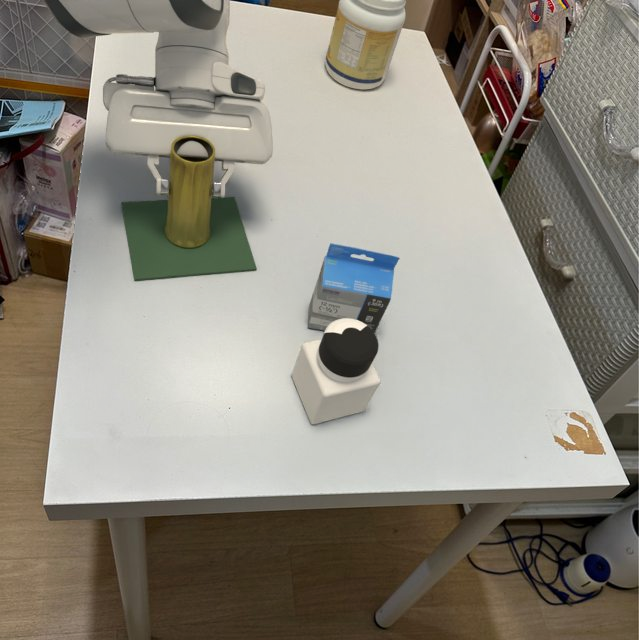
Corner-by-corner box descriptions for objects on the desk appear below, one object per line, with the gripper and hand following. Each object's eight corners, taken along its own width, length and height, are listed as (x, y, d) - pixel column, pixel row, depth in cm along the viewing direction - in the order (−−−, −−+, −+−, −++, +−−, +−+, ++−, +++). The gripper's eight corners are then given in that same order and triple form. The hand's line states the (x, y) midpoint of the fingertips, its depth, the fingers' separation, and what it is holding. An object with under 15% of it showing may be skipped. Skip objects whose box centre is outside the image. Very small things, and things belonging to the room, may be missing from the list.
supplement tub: (340, 48, 122) (362, -41, 108) (393, 74, 120) (423, -13, 107) (312, 73, 114) (333, -19, 101) (369, 100, 113) (398, 11, 100)
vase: (212, 220, 85) (222, 137, 74) (206, 252, 82) (215, 170, 70) (168, 213, 84) (171, 127, 73) (160, 244, 81) (162, 159, 69)
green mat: (134, 281, 77) (134, 279, 76) (121, 203, 84) (121, 201, 84) (256, 270, 82) (256, 268, 82) (234, 198, 89) (234, 196, 89)
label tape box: (306, 328, 78) (328, 266, 69) (308, 304, 81) (329, 240, 71) (371, 340, 79) (402, 280, 70) (372, 316, 82) (401, 255, 72)
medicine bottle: (364, 411, 73) (396, 358, 63) (310, 426, 70) (335, 372, 60) (342, 362, 76) (369, 305, 67) (290, 374, 73) (310, 316, 64)
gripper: (100, 65, 68) (101, 189, 71) (277, 84, 74) (273, 199, 76) (104, 78, 74) (105, 192, 77) (268, 95, 80) (264, 201, 82)
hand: (190, 196), depth 76 cm, fingers open, 6 cm apart
